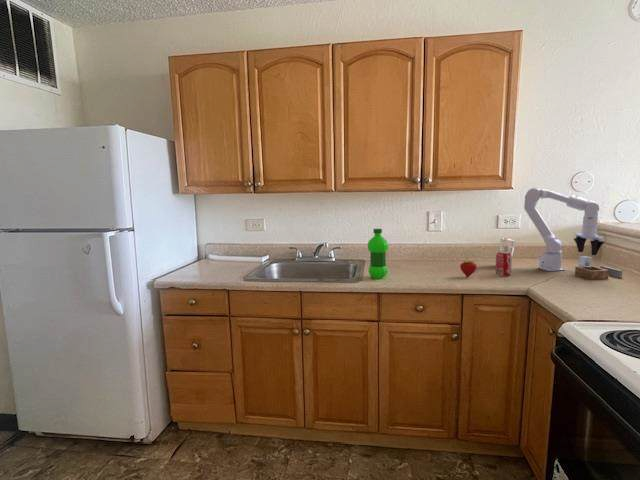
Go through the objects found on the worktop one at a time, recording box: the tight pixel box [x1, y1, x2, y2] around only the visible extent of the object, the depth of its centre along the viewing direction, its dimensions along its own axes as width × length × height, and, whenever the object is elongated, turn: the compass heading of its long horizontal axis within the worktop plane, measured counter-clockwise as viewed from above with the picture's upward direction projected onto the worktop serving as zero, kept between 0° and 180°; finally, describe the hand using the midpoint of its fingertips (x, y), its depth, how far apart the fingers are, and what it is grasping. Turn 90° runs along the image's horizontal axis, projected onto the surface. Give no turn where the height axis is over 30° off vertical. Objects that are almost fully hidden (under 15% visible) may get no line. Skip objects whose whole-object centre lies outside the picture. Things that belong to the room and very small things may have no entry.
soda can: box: [495, 250, 513, 278], centre depth 176 cm, size 7×7×12 cm
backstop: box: [599, 265, 623, 279], centre depth 170 cm, size 2×10×4 cm, turn 6°
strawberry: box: [459, 257, 477, 278], centre depth 175 cm, size 6×8×10 cm
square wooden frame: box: [574, 265, 610, 281], centre depth 169 cm, size 9×9×4 cm
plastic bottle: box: [367, 228, 389, 280], centre depth 179 cm, size 10×10×25 cm
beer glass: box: [499, 237, 515, 257], centre depth 194 cm, size 7×7×15 cm
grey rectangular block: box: [577, 255, 594, 267], centre depth 180 cm, size 4×4×7 cm
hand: (587, 253), depth 175 cm, fingers open, 7 cm apart
